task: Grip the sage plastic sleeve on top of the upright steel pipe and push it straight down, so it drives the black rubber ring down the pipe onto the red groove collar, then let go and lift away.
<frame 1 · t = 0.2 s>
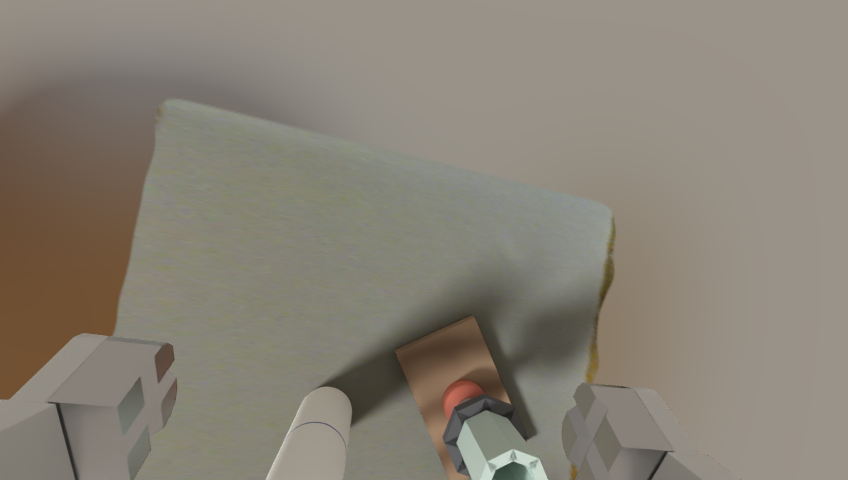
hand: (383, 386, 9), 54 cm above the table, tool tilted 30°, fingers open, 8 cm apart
sleeve: (498, 461, 44), point 19 cm above the table, slide at 8.0 cm
o ring: (484, 437, 49), point 14 cm above the table, slide at 8.0 cm
pipe stand: (460, 396, 63), on the table
cylindrical container: (326, 412, 61), on the table
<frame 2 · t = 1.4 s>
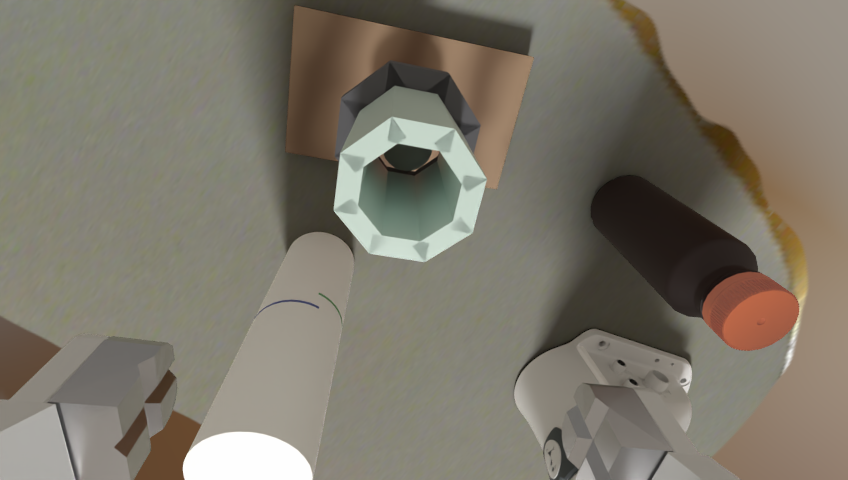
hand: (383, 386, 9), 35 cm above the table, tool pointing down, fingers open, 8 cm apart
sleeve: (408, 163, 23), point 19 cm above the table, slide at 8.0 cm
o ring: (406, 138, 28), point 14 cm above the table, slide at 8.0 cm
pipe stand: (405, 102, 41), on the table
cylindrical container: (321, 261, 48), on the table
bottle: (620, 204, 46), on the table
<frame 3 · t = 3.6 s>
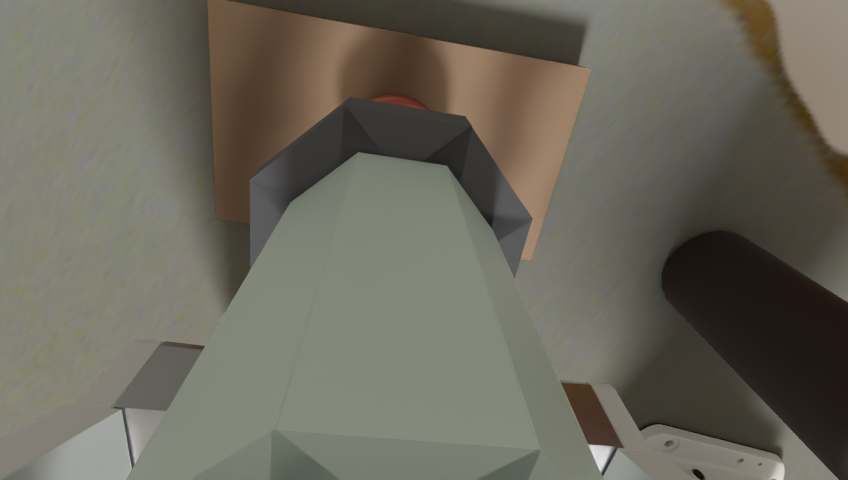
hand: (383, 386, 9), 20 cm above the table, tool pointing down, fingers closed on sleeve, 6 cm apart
sleeve: (384, 354, 10), point 19 cm above the table, slide at 8.0 cm, touching gripper
o ring: (389, 241, 15), point 14 cm above the table, slide at 8.0 cm
pipe stand: (393, 140, 27), on the table
bottle: (703, 269, 33), on the table
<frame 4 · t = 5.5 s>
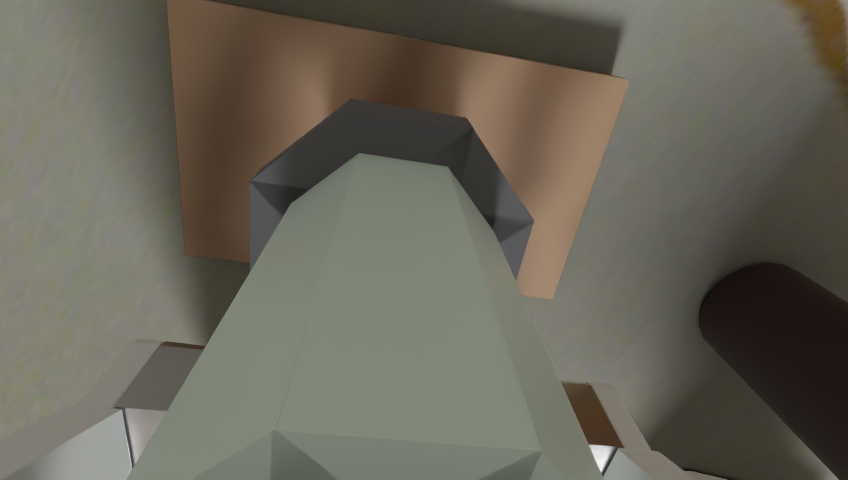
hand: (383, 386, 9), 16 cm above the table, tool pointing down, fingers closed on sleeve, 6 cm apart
sleeve: (384, 355, 10), point 15 cm above the table, slide at 3.6 cm, touching gripper, o ring
o ring: (389, 243, 15), point 10 cm above the table, slide at 3.7 cm, touching sleeve
pipe stand: (393, 161, 23), on the table
bottle: (746, 304, 29), on the table
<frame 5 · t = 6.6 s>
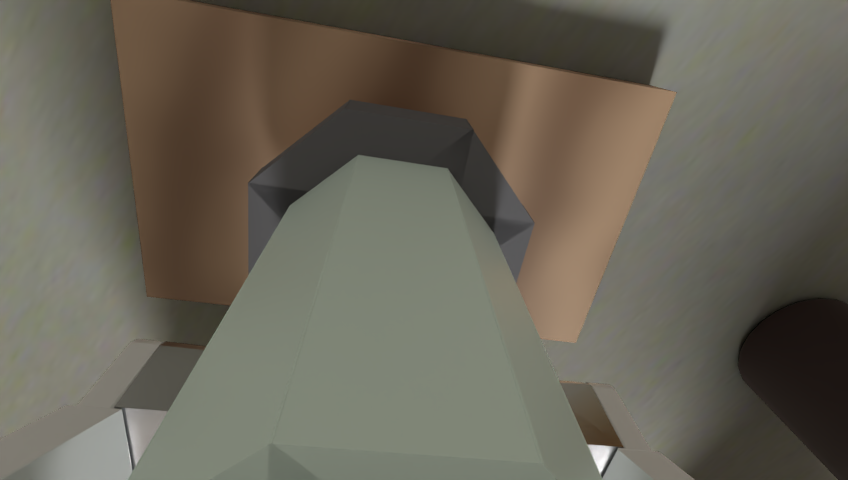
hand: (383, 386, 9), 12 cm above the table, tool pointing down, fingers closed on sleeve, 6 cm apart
sleeve: (384, 359, 10), point 11 cm above the table, slide at -0.1 cm, touching gripper, o ring
o ring: (389, 245, 15), point 6 cm above the table, slide at 0.0 cm, touching sleeve
pipe stand: (392, 185, 20), on the table
bottle: (791, 342, 25), on the table
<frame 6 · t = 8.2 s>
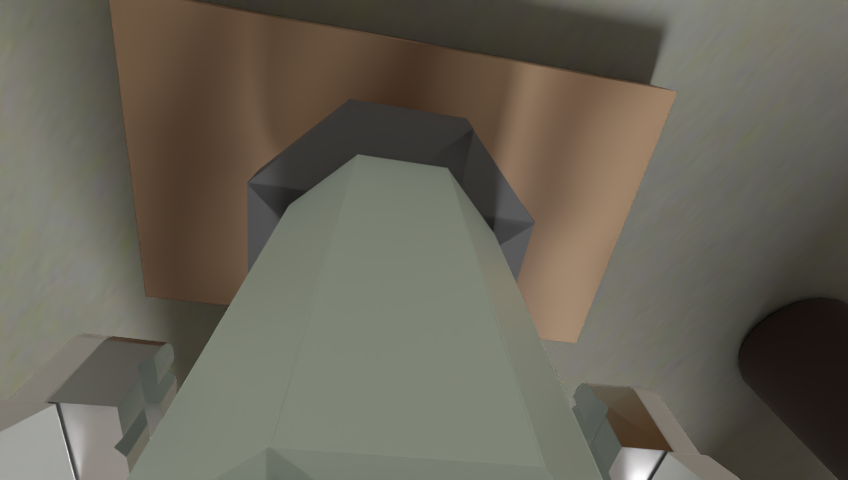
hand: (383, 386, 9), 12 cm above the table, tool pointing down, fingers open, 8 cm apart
sleeve: (383, 360, 10), point 11 cm above the table, slide at -0.1 cm
o ring: (389, 245, 15), point 6 cm above the table, slide at 0.0 cm
pipe stand: (391, 185, 20), on the table
bottle: (791, 342, 25), on the table
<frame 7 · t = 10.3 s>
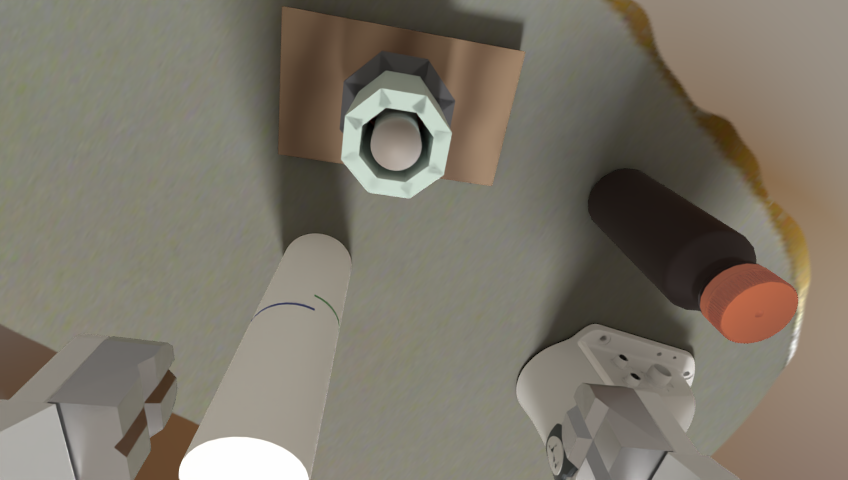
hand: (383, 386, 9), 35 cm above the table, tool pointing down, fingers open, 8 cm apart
sleeve: (396, 128, 30), point 11 cm above the table, slide at -0.1 cm
o ring: (397, 113, 35), point 6 cm above the table, slide at 0.0 cm
pipe stand: (397, 101, 40), on the table
cylindrical container: (318, 262, 48), on the table
bottle: (618, 198, 46), on the table
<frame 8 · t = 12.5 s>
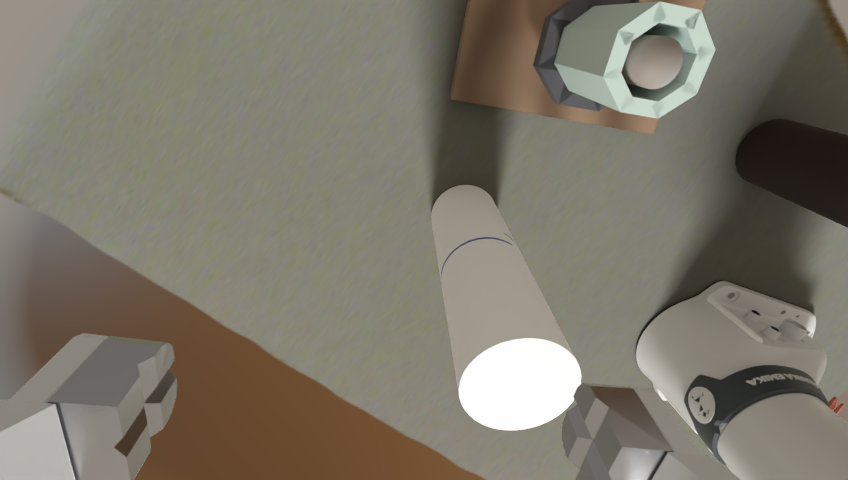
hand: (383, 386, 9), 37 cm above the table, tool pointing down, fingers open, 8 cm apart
sleeve: (623, 57, 31), point 11 cm above the table, slide at -0.1 cm
o ring: (592, 52, 36), point 6 cm above the table, slide at 0.0 cm
pipe stand: (567, 48, 41), on the table
cylindrical container: (463, 215, 48), on the table
bottle: (764, 150, 47), on the table
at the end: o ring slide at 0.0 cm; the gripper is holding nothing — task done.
